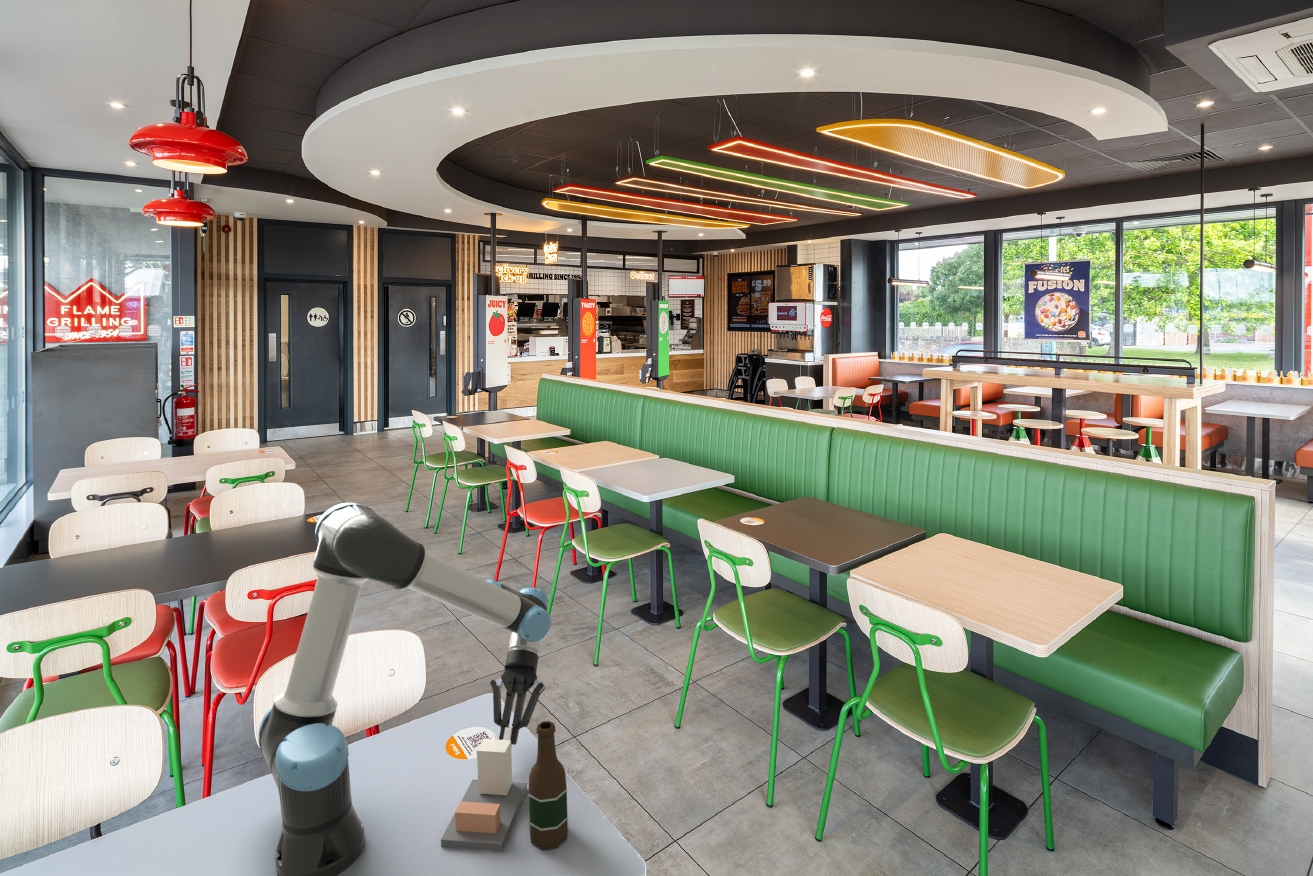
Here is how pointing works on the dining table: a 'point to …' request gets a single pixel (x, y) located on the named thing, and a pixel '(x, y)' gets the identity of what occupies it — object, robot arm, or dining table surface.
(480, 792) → the cream tall block
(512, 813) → the base
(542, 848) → the beer bottle
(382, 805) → the dining table surface
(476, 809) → the peach rectangular block
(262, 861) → the dining table surface
